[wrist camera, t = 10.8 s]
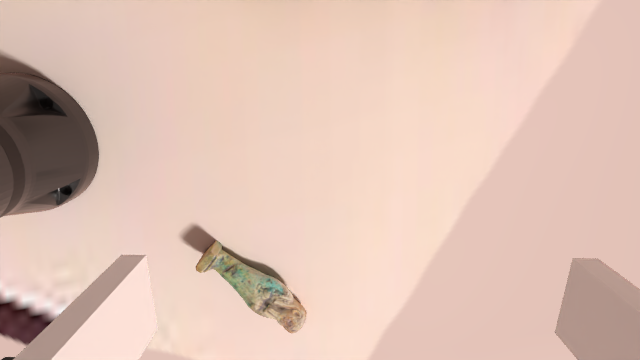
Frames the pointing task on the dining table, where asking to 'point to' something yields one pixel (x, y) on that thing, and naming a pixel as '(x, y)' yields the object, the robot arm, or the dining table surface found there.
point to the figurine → (255, 288)
